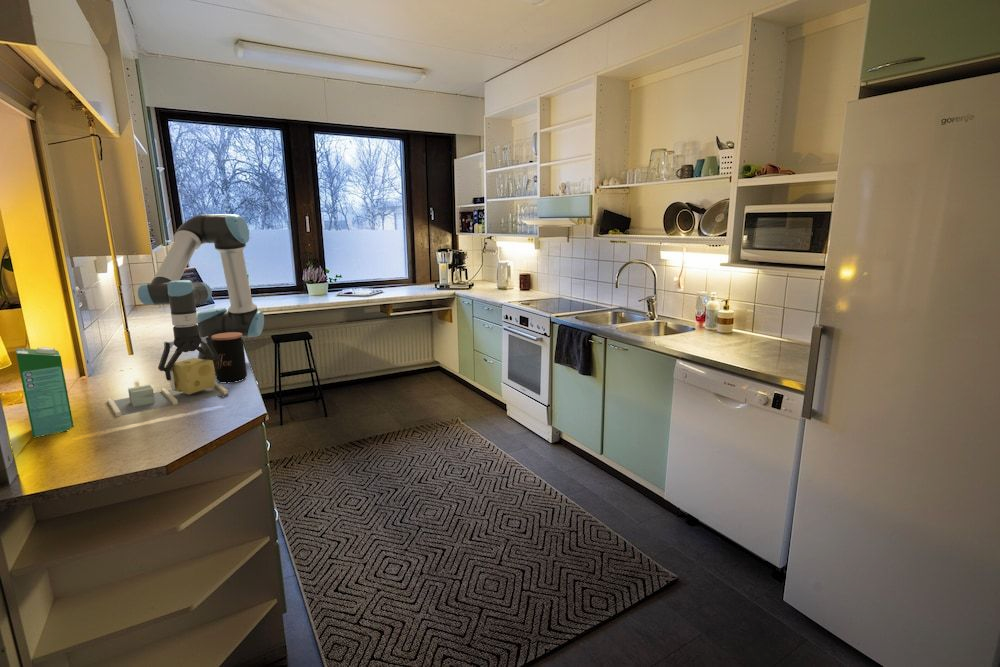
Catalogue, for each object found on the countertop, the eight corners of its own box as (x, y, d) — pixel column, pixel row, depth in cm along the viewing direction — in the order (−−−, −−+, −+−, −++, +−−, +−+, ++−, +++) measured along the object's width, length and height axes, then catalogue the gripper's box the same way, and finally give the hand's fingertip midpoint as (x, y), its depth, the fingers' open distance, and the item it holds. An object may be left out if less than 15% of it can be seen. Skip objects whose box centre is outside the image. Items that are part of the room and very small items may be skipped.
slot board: (108, 404, 172) (107, 398, 171) (212, 384, 193) (211, 378, 193) (117, 419, 158) (116, 412, 158) (228, 396, 180) (227, 390, 179)
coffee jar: (210, 381, 197) (204, 336, 194) (235, 374, 206) (230, 331, 203) (228, 385, 192) (222, 338, 189) (253, 377, 202) (248, 333, 198)
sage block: (130, 402, 170) (127, 388, 169) (151, 398, 174) (149, 384, 173) (133, 407, 166) (131, 392, 165) (155, 402, 170) (152, 388, 169)
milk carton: (74, 429, 150) (59, 347, 145) (33, 438, 144) (15, 353, 139) (71, 421, 156) (56, 342, 151) (31, 429, 150) (15, 347, 145)
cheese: (188, 395, 174) (185, 367, 172) (169, 390, 178) (165, 363, 176) (217, 386, 183) (213, 359, 181) (198, 382, 187) (194, 356, 185)
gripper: (146, 331, 165) (155, 395, 169) (226, 322, 181) (233, 380, 186) (141, 328, 170) (151, 390, 175) (220, 319, 187) (226, 375, 191)
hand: (193, 385), depth 180 cm, fingers closed on cheese, 12 cm apart
